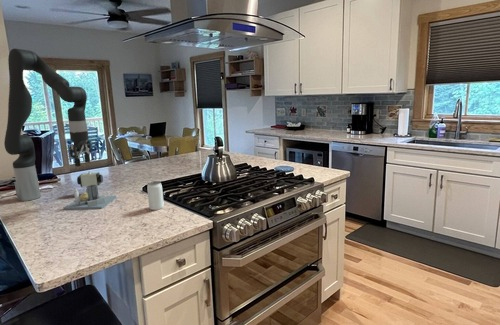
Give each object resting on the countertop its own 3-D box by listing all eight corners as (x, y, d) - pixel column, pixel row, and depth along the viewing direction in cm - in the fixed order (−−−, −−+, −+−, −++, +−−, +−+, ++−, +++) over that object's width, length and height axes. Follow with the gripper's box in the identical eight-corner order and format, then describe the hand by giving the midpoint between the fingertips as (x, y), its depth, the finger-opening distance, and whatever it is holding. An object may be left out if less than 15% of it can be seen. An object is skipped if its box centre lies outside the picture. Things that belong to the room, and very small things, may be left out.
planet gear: (81, 204, 149) (79, 188, 148) (90, 199, 157) (87, 184, 155) (98, 204, 149) (95, 188, 148) (105, 199, 157) (103, 183, 155)
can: (150, 211, 141) (148, 185, 138) (148, 207, 146) (145, 182, 144) (165, 208, 143) (162, 183, 141) (162, 204, 149) (159, 180, 147)
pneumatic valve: (102, 193, 170) (99, 172, 167) (79, 195, 167) (75, 173, 165) (105, 190, 175) (102, 169, 172) (82, 192, 173) (79, 171, 170)
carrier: (63, 209, 146) (60, 192, 145) (81, 198, 162) (79, 182, 160) (101, 208, 146) (99, 191, 144) (116, 197, 162) (114, 181, 160)
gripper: (78, 128, 154) (83, 161, 158) (61, 132, 140) (66, 167, 144) (94, 128, 154) (97, 161, 158) (78, 132, 140) (82, 167, 144)
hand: (82, 164), depth 151 cm, fingers open, 8 cm apart
